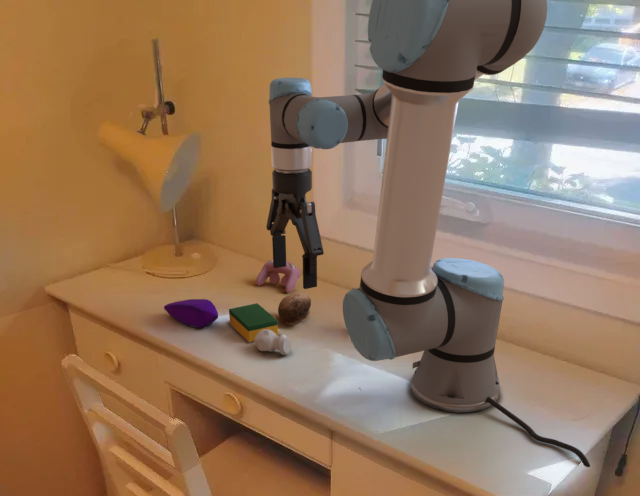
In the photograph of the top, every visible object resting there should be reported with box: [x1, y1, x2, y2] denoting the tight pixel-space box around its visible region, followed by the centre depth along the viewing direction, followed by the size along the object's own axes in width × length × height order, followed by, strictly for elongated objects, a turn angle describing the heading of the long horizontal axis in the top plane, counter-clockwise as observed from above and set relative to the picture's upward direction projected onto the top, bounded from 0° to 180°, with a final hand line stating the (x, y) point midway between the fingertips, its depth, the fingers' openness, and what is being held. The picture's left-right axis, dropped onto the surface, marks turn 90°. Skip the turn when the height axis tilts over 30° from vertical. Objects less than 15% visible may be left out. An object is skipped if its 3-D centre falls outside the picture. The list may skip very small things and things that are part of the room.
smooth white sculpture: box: [254, 329, 292, 356], centre depth 138 cm, size 4×8×5 cm
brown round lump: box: [277, 293, 312, 325], centre depth 150 cm, size 8×8×6 cm
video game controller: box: [255, 259, 301, 294], centre depth 166 cm, size 10×5×7 cm, turn 58°
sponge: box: [228, 302, 279, 343], centre depth 146 cm, size 10×6×3 cm, turn 29°
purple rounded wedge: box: [163, 298, 219, 329], centre depth 149 cm, size 5×5×15 cm
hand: (294, 276), depth 146 cm, fingers open, 13 cm apart
